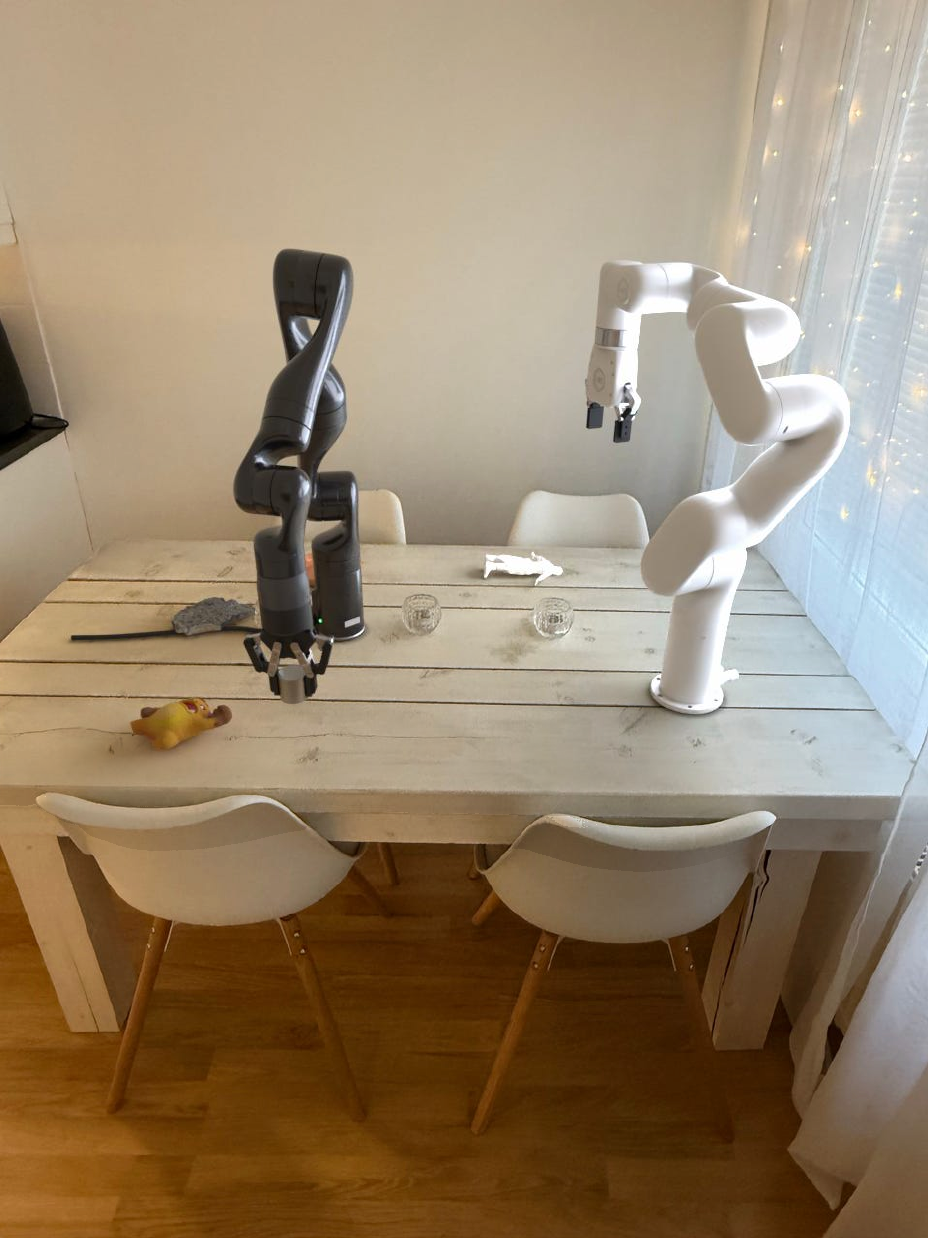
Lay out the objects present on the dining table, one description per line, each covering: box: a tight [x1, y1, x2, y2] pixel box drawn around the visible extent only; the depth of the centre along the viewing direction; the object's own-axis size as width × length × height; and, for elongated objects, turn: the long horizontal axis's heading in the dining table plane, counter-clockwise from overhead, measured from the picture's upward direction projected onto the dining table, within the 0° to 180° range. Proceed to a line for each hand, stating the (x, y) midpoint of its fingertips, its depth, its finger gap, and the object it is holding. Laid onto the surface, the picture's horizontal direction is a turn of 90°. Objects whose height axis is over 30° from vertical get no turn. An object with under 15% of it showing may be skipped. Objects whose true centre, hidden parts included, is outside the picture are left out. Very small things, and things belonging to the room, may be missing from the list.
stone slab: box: [170, 596, 256, 637], centre depth 168 cm, size 12×17×3 cm
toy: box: [129, 697, 233, 751], centre depth 133 cm, size 11×6×15 cm
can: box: [278, 664, 309, 705], centre depth 127 cm, size 4×4×4 cm
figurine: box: [483, 551, 563, 586], centre depth 188 cm, size 17×5×18 cm
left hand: (294, 693), depth 128 cm, fingers closed on can, 4 cm apart
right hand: (607, 434), depth 150 cm, fingers open, 9 cm apart
